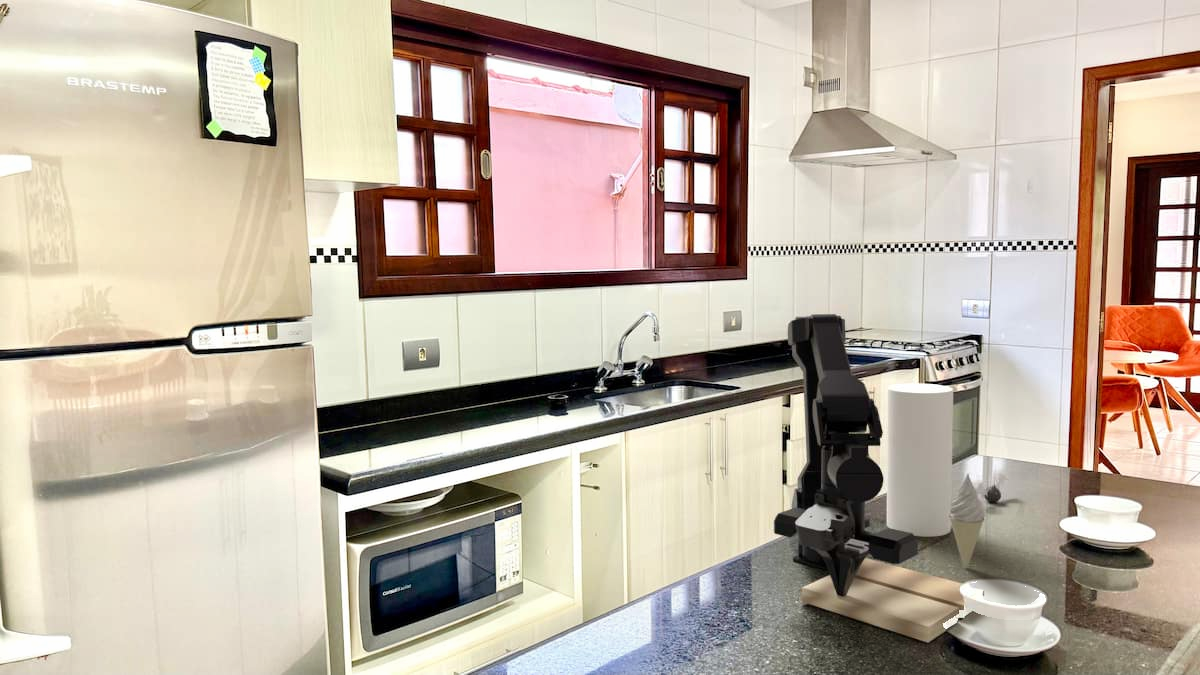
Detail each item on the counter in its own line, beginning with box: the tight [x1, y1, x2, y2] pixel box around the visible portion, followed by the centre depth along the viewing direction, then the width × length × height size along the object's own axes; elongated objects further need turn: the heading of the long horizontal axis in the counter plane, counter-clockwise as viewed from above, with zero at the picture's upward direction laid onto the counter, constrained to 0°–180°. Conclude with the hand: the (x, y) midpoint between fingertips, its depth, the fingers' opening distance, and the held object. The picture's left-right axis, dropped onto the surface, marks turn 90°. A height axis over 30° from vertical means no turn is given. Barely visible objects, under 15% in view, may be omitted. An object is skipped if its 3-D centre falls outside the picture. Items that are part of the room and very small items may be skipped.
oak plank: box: [801, 574, 959, 643], centre depth 111 cm, size 18×9×2 cm, turn 44°
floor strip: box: [855, 558, 964, 610], centre depth 118 cm, size 18×8×2 cm, turn 44°
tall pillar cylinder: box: [886, 382, 954, 538], centre depth 145 cm, size 11×11×25 cm
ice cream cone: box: [949, 473, 986, 569], centre depth 126 cm, size 5×5×15 cm
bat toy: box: [975, 474, 1009, 504], centre depth 159 cm, size 3×15×5 cm, turn 130°
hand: (841, 595), depth 112 cm, fingers closed, pressing on oak plank
